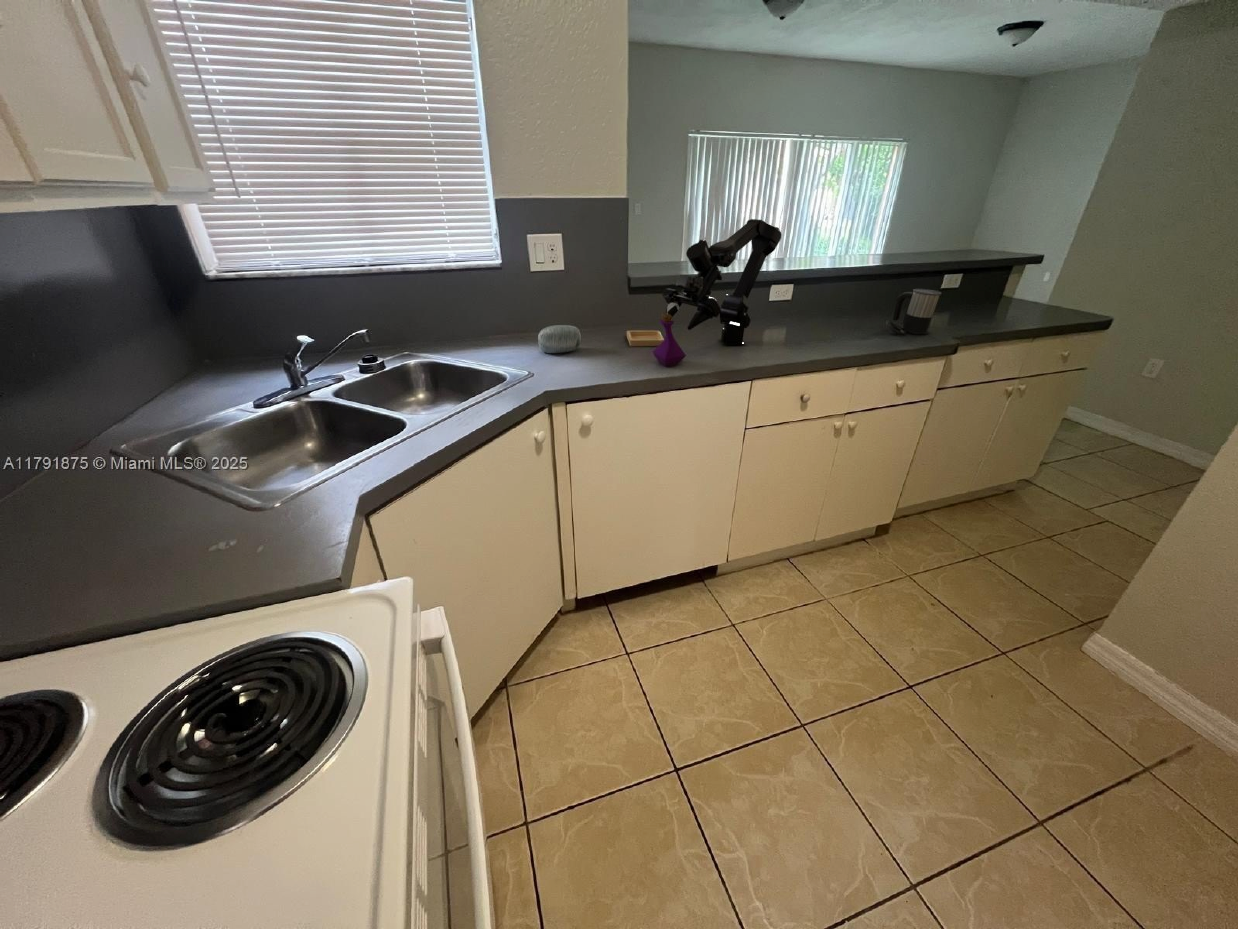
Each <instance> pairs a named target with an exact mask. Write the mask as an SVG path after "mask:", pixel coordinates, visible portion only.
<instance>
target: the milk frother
mask: <svg viewBox="0 0 1238 929" xmlns="http://www.w3.org/2000/svg"><path fill="white" fill-rule="evenodd" d="M912 290H913V291H905V292H903V293H901V294H900V295H899V296H898V297H897V298H896V301H895V305H894V309H893V314H892V321H898V320H899V319H900V317H901V314H902V310H903V306H904V302H905V300H906V299H909V302H908V305H907V308H906V311H905V314H904V316H903V320H902V322H901V325H902V326H900V325H898V324H896V323H894V322H892V321H886V327H887V328H888V329H889V330H891V331H892V332H893V333H894V335H898V334H899V335H905V334H906V333H908V334H916V335H927V334H928V330H929V328H930V324H931V321H932V318H933V315H934V312H935V310H936V307H937V304H938V301H939V298H940V296H941V295H942V292H941V291H938V290H934V289H927V288H914V289H912Z"/></svg>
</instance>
